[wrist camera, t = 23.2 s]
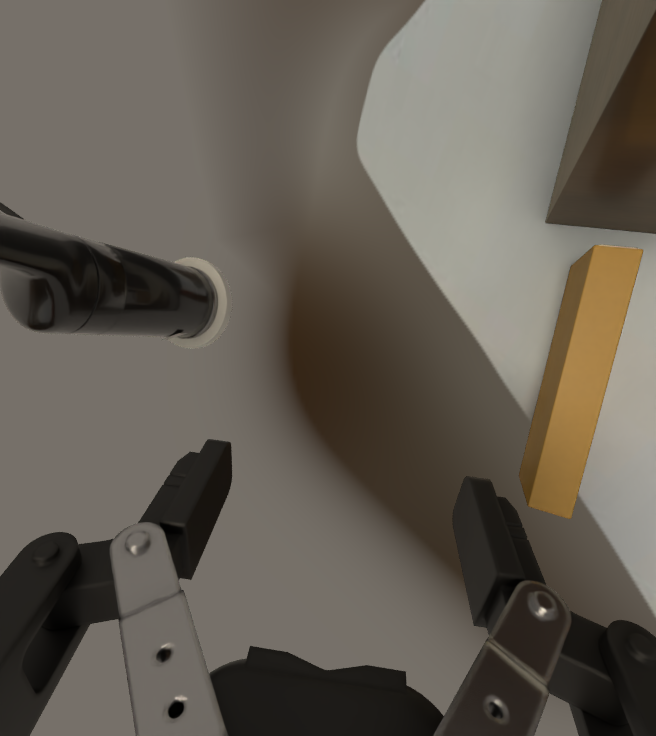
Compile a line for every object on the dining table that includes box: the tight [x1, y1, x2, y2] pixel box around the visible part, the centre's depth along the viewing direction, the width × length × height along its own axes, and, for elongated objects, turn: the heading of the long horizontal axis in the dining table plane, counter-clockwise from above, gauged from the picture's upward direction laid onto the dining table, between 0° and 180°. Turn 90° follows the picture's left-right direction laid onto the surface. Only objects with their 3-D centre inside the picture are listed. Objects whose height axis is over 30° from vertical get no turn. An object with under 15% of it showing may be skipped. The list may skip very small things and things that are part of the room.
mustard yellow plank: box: [519, 244, 643, 519], centre depth 33 cm, size 20×3×8 cm, turn 170°
